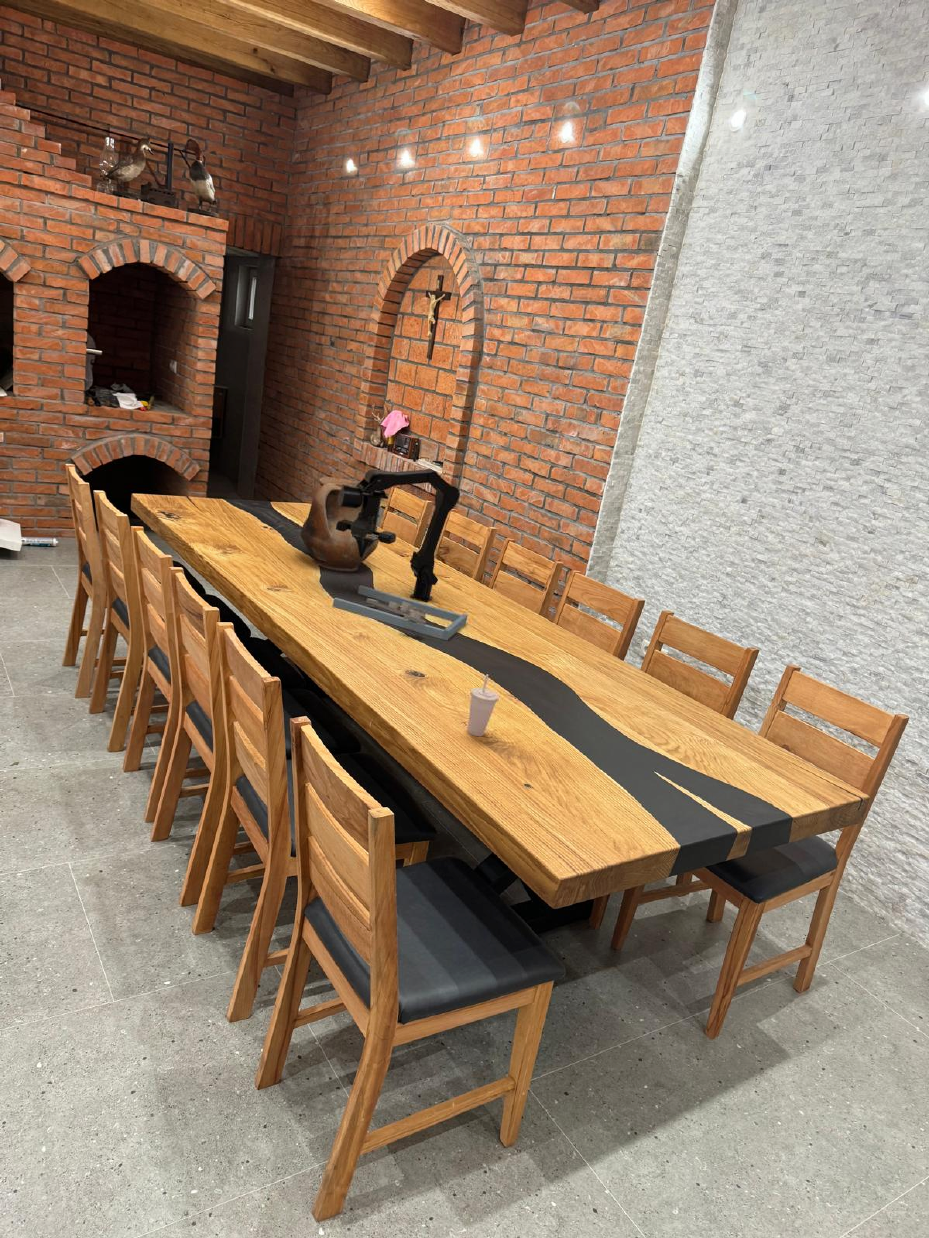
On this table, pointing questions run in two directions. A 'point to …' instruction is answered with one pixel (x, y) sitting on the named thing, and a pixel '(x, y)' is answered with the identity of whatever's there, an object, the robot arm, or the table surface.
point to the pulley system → (412, 612)
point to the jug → (332, 529)
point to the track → (400, 621)
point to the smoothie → (481, 709)
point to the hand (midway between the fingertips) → (361, 557)
